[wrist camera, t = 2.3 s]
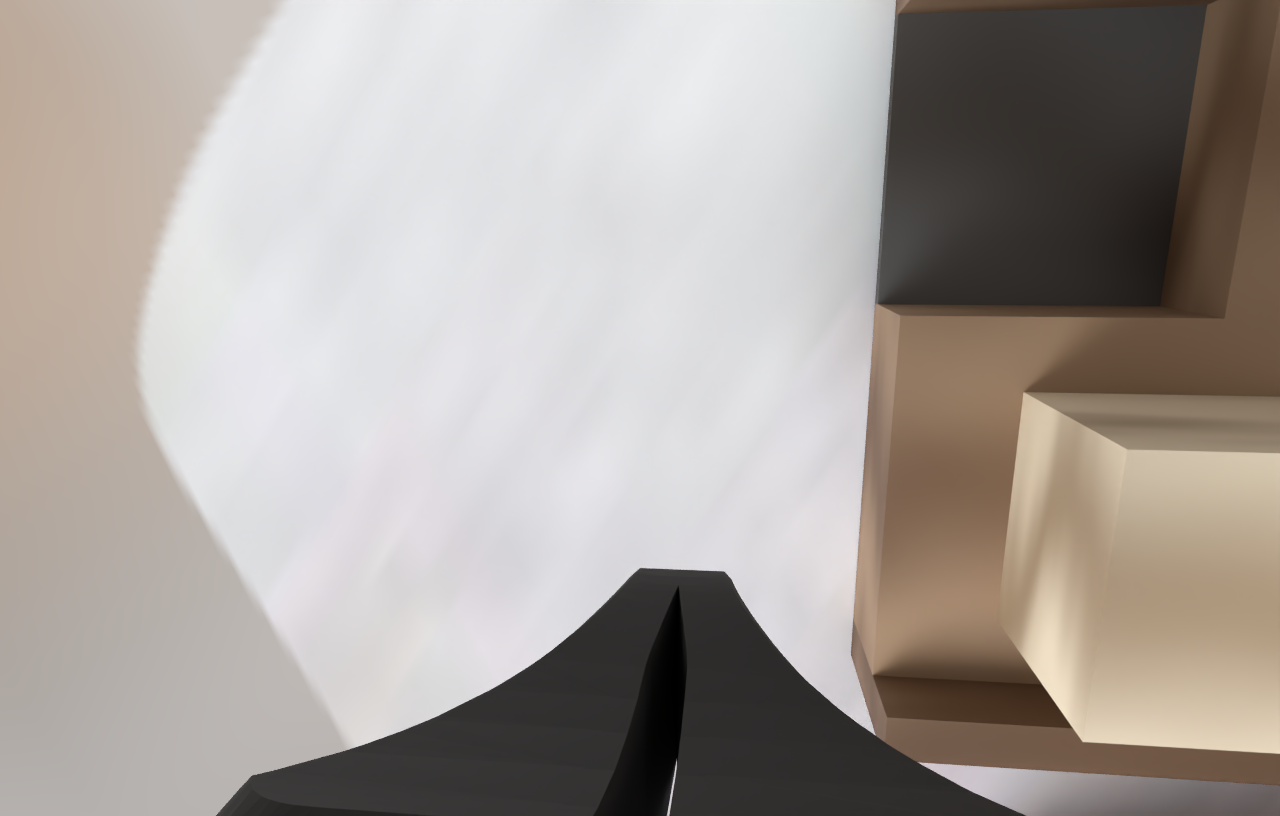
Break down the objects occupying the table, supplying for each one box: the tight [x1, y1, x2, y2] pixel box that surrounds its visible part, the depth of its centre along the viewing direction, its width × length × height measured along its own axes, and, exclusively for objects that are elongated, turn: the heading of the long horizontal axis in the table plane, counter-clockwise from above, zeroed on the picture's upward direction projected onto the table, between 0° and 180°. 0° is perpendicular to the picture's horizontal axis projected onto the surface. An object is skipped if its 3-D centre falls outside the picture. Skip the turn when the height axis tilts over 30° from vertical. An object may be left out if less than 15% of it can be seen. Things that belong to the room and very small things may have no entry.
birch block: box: [997, 392, 1280, 754], centre depth 14 cm, size 5×5×4 cm
